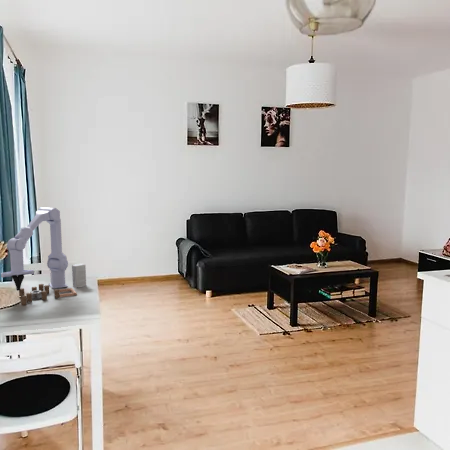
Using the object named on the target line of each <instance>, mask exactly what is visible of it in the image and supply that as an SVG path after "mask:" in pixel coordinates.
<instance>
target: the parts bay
mask: <svg viewBox="0 0 450 450" xmlns="http://www.w3.org/2000/svg"><path fill="white" fill-rule="evenodd" d="M58 289H59V294H60V298H65V297H72V296H73V297H74V296H77V294H78V293H77V292H76V291H75V290H74V288H72V287H68V288H67V287H66V288H58ZM65 292H67V293H65Z"/></svg>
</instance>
